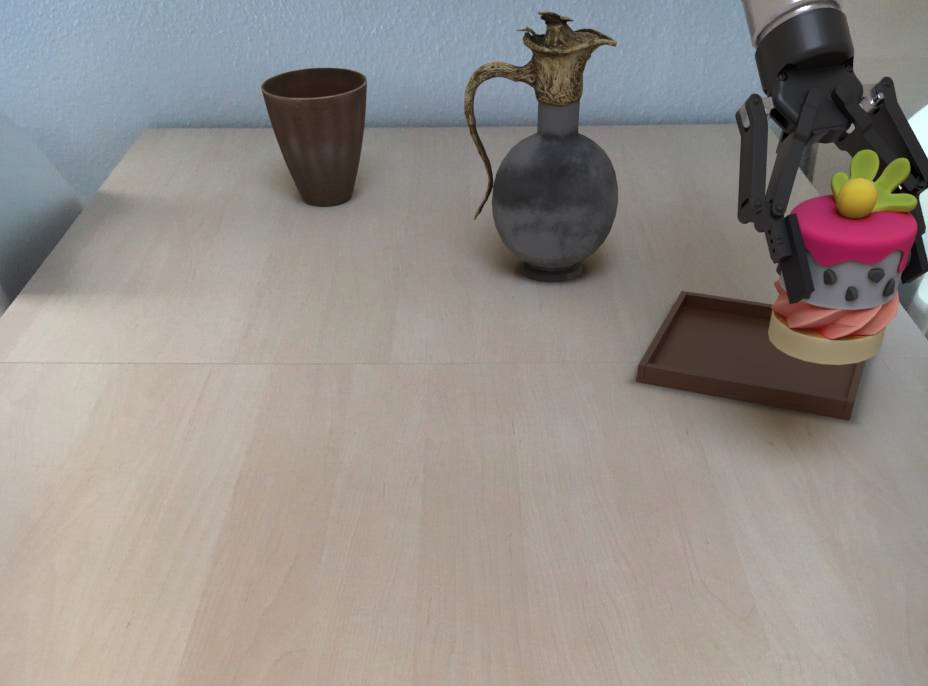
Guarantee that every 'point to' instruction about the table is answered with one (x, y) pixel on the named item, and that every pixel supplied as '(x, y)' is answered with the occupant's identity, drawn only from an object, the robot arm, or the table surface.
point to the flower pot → (319, 129)
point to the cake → (848, 265)
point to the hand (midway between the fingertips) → (859, 287)
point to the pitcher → (550, 159)
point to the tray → (742, 359)
